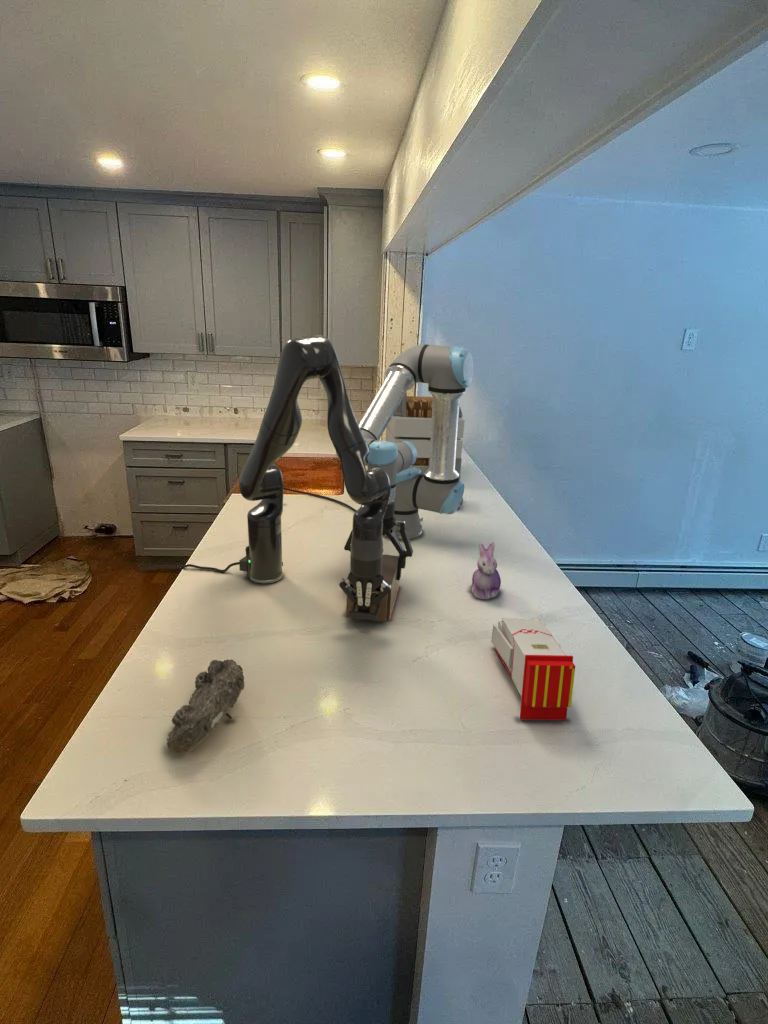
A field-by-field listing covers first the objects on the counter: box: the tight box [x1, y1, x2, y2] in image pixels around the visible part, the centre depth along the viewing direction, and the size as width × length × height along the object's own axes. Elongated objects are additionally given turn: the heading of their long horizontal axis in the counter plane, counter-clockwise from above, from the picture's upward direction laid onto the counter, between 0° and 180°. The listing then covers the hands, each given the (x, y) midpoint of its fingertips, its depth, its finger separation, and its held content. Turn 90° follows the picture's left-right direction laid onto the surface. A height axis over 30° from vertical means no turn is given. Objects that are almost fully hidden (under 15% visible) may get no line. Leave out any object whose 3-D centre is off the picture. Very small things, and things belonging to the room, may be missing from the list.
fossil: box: [166, 658, 245, 754], centre depth 106 cm, size 22×10×15 cm
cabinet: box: [345, 554, 400, 621], centre depth 152 cm, size 18×11×10 cm, turn 171°
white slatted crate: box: [384, 392, 465, 481], centre depth 268 cm, size 34×33×41 cm
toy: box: [490, 617, 576, 721], centre depth 122 cm, size 12×13×30 cm
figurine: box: [470, 541, 502, 600], centre depth 158 cm, size 9×10×15 cm
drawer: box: [345, 587, 388, 623], centre depth 146 cm, size 23×10×8 cm, turn 171°
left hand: (364, 617), depth 139 cm, fingers closed
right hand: (377, 575), depth 156 cm, fingers closed on cabinet, 11 cm apart
